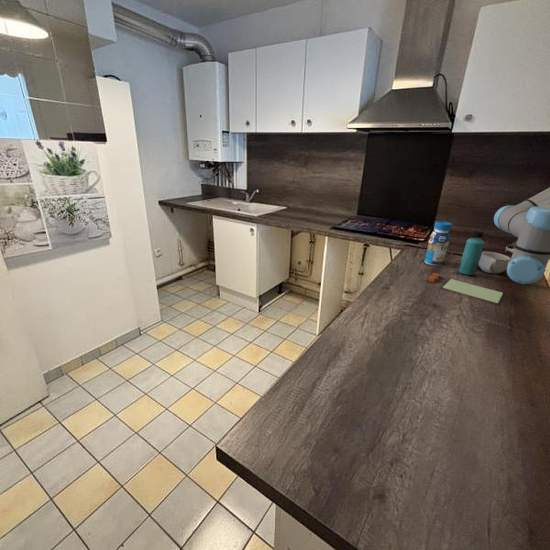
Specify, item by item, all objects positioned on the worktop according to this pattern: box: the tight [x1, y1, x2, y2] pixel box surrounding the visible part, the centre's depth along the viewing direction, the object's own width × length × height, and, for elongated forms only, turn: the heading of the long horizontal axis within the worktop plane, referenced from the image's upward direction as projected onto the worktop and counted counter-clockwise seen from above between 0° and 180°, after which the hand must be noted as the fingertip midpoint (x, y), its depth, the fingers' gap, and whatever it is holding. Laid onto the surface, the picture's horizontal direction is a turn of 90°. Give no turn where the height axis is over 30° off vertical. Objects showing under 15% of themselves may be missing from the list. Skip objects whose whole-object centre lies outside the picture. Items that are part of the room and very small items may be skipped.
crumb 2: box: [431, 272, 441, 280], centre depth 122 cm, size 2×2×2 cm
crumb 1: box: [427, 275, 437, 283], centre depth 120 cm, size 2×2×2 cm
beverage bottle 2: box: [458, 230, 485, 276], centre depth 124 cm, size 6×7×20 cm
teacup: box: [478, 251, 511, 275], centre depth 131 cm, size 14×11×8 cm
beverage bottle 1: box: [423, 221, 452, 267], centre depth 138 cm, size 8×8×20 cm
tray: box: [442, 278, 504, 304], centre depth 112 cm, size 18×12×1 cm, turn 47°
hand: (535, 243), depth 101 cm, fingers closed on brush, 3 cm apart
